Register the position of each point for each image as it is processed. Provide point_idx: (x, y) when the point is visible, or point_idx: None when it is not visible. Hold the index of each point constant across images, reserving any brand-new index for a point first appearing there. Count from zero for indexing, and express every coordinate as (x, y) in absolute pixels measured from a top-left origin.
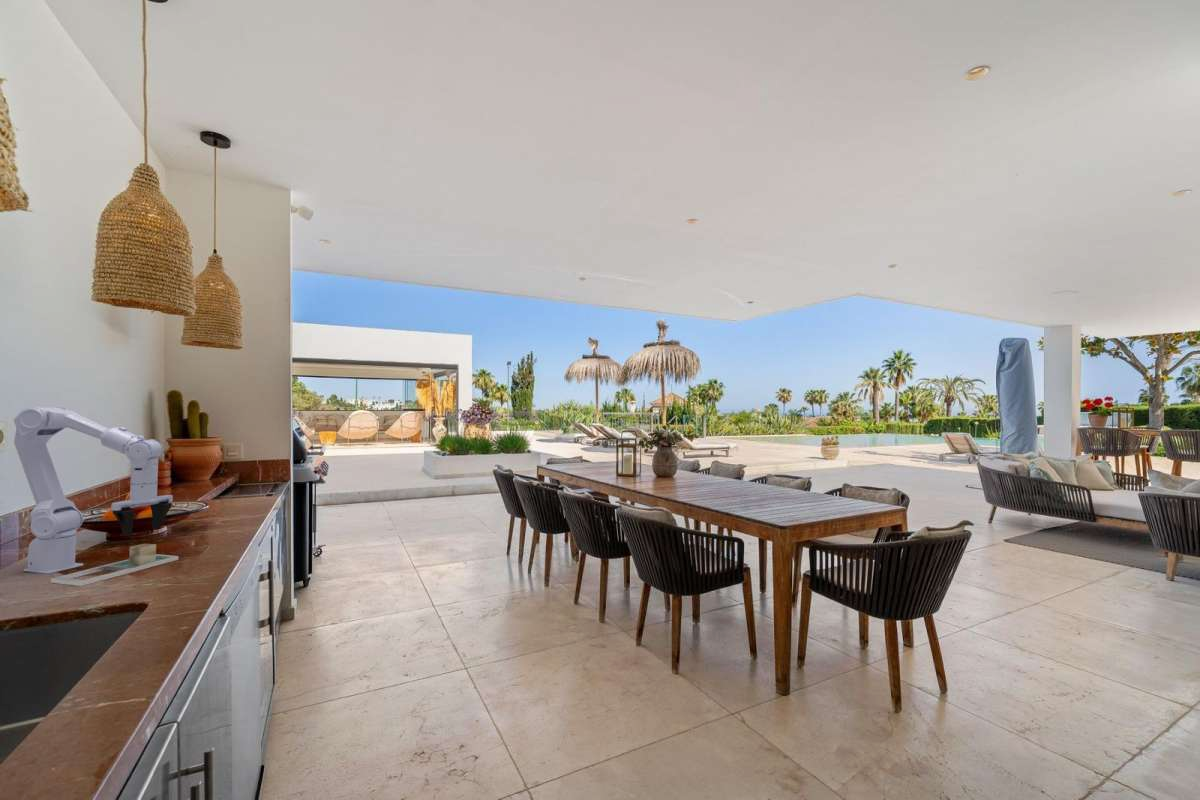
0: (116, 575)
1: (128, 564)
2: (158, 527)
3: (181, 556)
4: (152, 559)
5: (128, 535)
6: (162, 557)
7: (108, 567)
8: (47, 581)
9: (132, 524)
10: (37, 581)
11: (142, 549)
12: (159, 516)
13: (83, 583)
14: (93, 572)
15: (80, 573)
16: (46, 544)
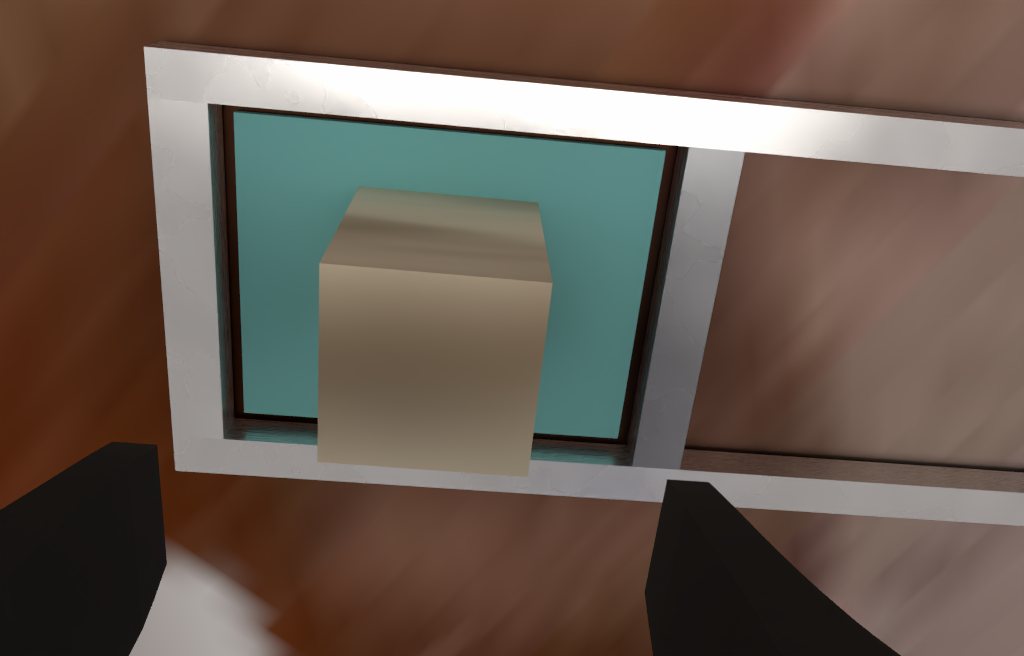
0: (897, 112)
1: None
2: (140, 469)
3: (15, 177)
4: (393, 203)
5: (714, 487)
6: (219, 248)
7: (686, 424)
8: (1001, 576)
9: (744, 594)
10: (996, 640)
11: (528, 268)
12: (7, 643)
13: None
14: (776, 456)
15: (893, 476)
16: None
